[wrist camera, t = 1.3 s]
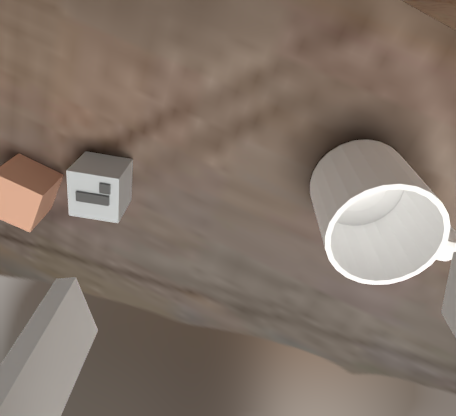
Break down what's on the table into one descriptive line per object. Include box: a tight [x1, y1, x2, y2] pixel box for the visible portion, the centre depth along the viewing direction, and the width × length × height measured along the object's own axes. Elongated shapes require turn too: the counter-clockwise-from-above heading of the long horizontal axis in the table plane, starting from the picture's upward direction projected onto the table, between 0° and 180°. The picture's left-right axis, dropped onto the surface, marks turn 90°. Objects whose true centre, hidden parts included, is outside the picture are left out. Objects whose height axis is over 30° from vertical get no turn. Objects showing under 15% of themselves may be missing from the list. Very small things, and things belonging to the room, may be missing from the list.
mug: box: [310, 139, 456, 285], centre depth 37 cm, size 13×10×10 cm
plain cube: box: [0, 153, 63, 232], centre depth 41 cm, size 5×5×5 cm
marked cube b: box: [66, 151, 133, 223], centre depth 40 cm, size 5×5×5 cm
